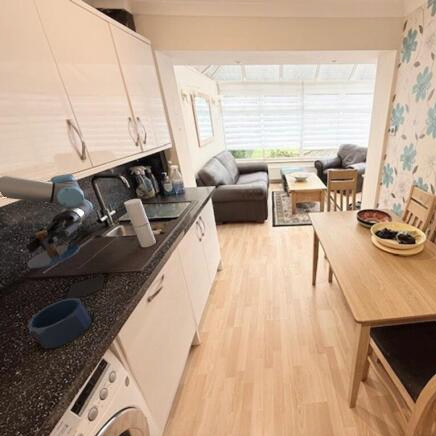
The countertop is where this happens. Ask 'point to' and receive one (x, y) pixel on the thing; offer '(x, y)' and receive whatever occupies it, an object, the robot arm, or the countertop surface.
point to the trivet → (86, 287)
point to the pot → (59, 323)
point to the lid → (52, 253)
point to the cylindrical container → (140, 222)
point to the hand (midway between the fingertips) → (36, 247)
